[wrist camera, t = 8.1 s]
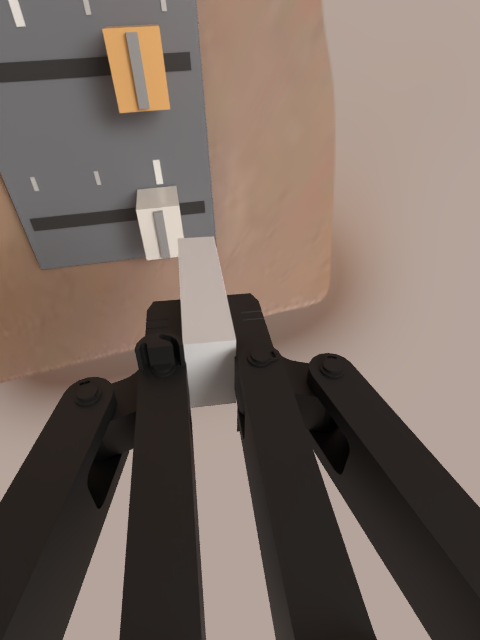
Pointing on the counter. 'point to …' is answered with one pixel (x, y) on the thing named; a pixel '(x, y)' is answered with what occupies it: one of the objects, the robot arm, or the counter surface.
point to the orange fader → (137, 67)
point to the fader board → (97, 128)
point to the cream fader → (159, 221)
